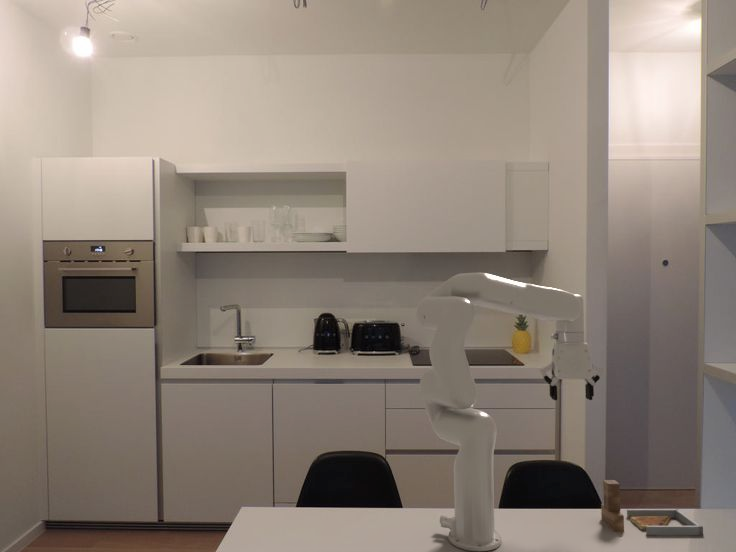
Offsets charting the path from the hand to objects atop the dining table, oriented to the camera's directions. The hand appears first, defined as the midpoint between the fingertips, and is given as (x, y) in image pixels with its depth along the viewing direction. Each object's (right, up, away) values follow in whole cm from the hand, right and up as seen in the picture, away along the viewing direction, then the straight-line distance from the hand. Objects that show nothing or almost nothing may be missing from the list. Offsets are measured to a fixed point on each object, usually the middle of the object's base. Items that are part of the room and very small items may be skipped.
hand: (571, 399), depth 155 cm
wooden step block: (+6, -30, -12) cm, 33 cm away
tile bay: (+18, -30, -13) cm, 37 cm away
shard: (+16, -30, -11) cm, 36 cm away
